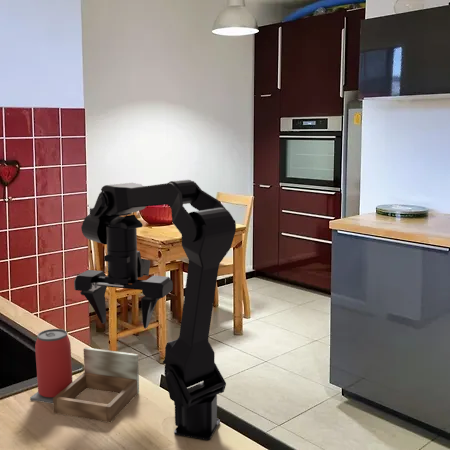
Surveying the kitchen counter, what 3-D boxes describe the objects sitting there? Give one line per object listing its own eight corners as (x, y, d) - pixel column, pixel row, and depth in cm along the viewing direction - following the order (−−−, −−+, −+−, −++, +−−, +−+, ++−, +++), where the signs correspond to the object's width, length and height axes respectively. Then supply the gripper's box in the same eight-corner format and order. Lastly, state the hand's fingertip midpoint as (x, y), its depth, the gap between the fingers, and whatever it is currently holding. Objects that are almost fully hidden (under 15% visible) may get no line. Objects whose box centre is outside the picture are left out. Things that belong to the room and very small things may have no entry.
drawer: (139, 392, 114) (138, 354, 113) (110, 422, 103) (109, 381, 102) (86, 384, 118) (85, 347, 116) (53, 413, 106) (51, 372, 105)
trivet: (79, 388, 116) (79, 385, 116) (59, 404, 109) (59, 402, 109) (51, 383, 118) (50, 381, 118) (30, 399, 111) (30, 397, 111)
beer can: (61, 380, 118) (58, 325, 116) (79, 391, 114) (76, 333, 111) (31, 392, 113) (27, 334, 111) (49, 403, 109) (45, 343, 107)
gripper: (182, 242, 116) (183, 316, 119) (99, 237, 122) (102, 307, 125) (160, 255, 106) (162, 336, 109) (70, 248, 111) (74, 325, 114)
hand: (124, 325), depth 114 cm, fingers open, 9 cm apart
